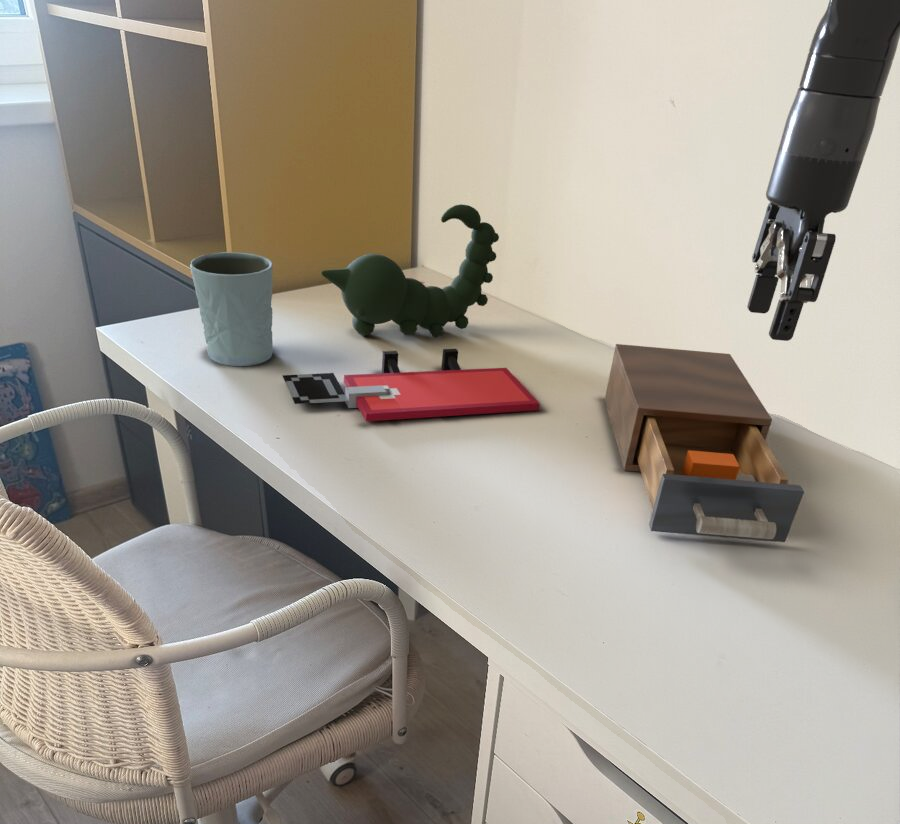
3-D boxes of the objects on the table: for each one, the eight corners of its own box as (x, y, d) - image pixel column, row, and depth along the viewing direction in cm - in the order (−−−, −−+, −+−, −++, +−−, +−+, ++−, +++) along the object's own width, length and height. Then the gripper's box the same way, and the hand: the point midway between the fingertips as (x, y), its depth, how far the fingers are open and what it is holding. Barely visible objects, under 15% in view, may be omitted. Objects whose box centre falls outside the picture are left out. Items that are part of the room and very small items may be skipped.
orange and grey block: (748, 486, 88) (758, 456, 86) (754, 499, 86) (765, 468, 84) (679, 480, 88) (687, 450, 86) (684, 493, 86) (693, 462, 84)
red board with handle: (279, 376, 107) (302, 429, 96) (279, 355, 105) (302, 406, 94) (494, 366, 116) (538, 413, 105) (497, 347, 114) (541, 392, 103)
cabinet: (751, 481, 94) (772, 419, 89) (624, 470, 94) (638, 407, 89) (714, 409, 109) (730, 353, 105) (604, 400, 109) (615, 343, 105)
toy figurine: (466, 329, 132) (311, 320, 123) (488, 201, 121) (320, 181, 112) (487, 351, 125) (323, 343, 116) (512, 216, 114) (334, 197, 105)
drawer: (798, 567, 78) (819, 514, 75) (657, 555, 78) (672, 502, 75) (739, 456, 97) (754, 410, 93) (625, 446, 96) (636, 399, 93)
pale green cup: (292, 357, 113) (288, 266, 105) (229, 375, 107) (220, 279, 99) (247, 336, 118) (241, 247, 111) (185, 351, 112) (174, 258, 105)
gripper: (892, 167, 70) (825, 353, 80) (835, 141, 82) (783, 306, 92) (804, 159, 70) (749, 346, 80) (760, 134, 82) (716, 300, 92)
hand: (767, 324), depth 86 cm, fingers open, 8 cm apart
